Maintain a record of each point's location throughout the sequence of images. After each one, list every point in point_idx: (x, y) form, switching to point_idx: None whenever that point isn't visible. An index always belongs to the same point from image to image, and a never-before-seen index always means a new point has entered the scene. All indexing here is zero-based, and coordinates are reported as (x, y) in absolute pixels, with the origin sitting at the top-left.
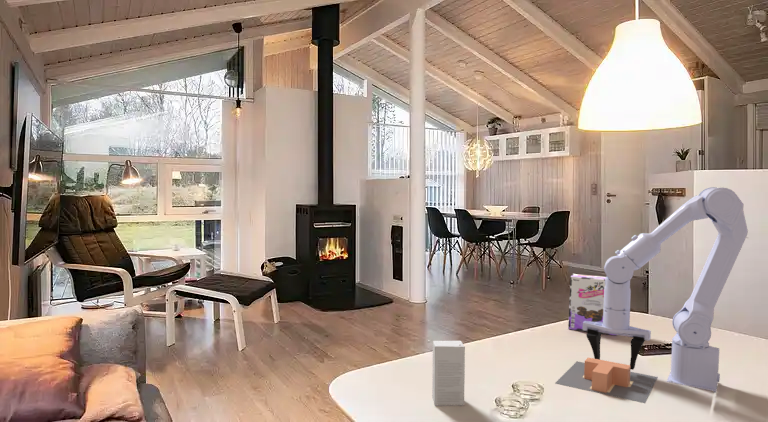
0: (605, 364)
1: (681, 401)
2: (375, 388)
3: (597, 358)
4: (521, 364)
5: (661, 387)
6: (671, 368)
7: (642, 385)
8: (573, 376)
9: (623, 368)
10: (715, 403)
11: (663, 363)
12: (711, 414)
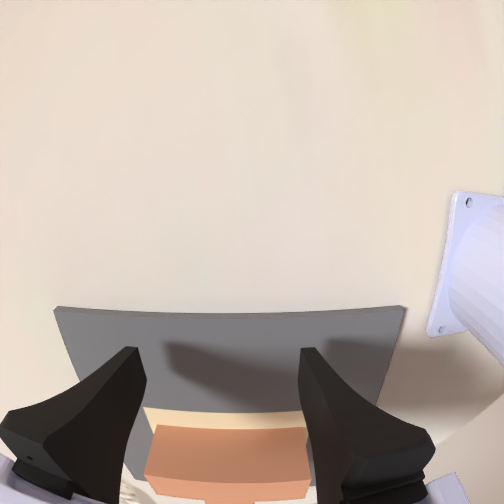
0: (226, 500)
1: (424, 420)
2: None
3: (140, 401)
4: (3, 386)
5: (399, 374)
6: (471, 312)
7: None
8: (136, 445)
9: (289, 499)
10: (489, 377)
11: (405, 39)
12: (456, 430)
